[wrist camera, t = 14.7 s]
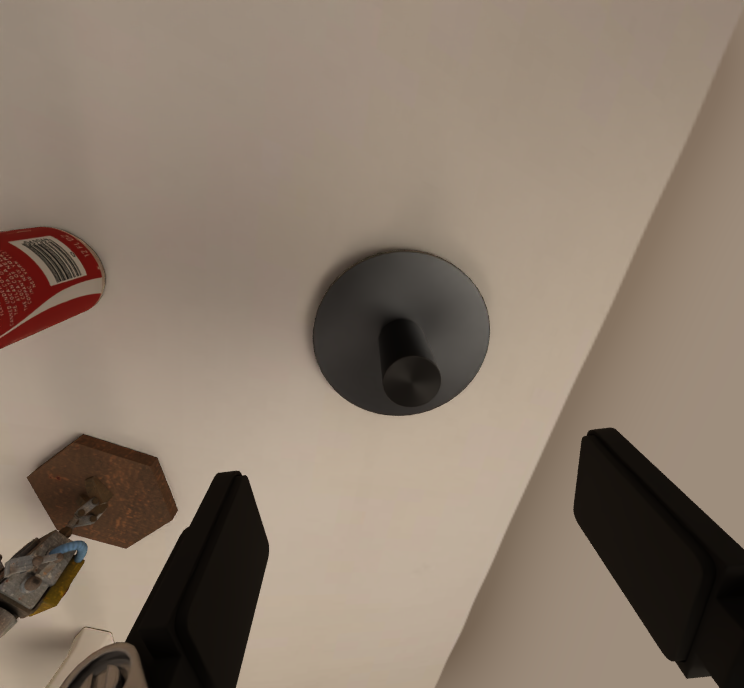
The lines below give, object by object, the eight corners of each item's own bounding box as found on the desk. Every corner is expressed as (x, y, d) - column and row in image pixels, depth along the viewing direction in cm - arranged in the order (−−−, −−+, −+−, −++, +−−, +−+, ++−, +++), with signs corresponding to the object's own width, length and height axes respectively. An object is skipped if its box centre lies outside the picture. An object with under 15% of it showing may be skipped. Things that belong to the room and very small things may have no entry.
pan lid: (484, 236, 23) (529, 254, 17) (485, 397, 27) (521, 458, 21) (299, 261, 23) (276, 287, 17) (330, 416, 27) (321, 481, 21)
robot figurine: (110, 413, 27) (-66, 572, 16) (204, 493, 30) (111, 673, 19) (15, 484, 29) (-198, 666, 18) (111, 551, 32) (-20, 742, 21)
